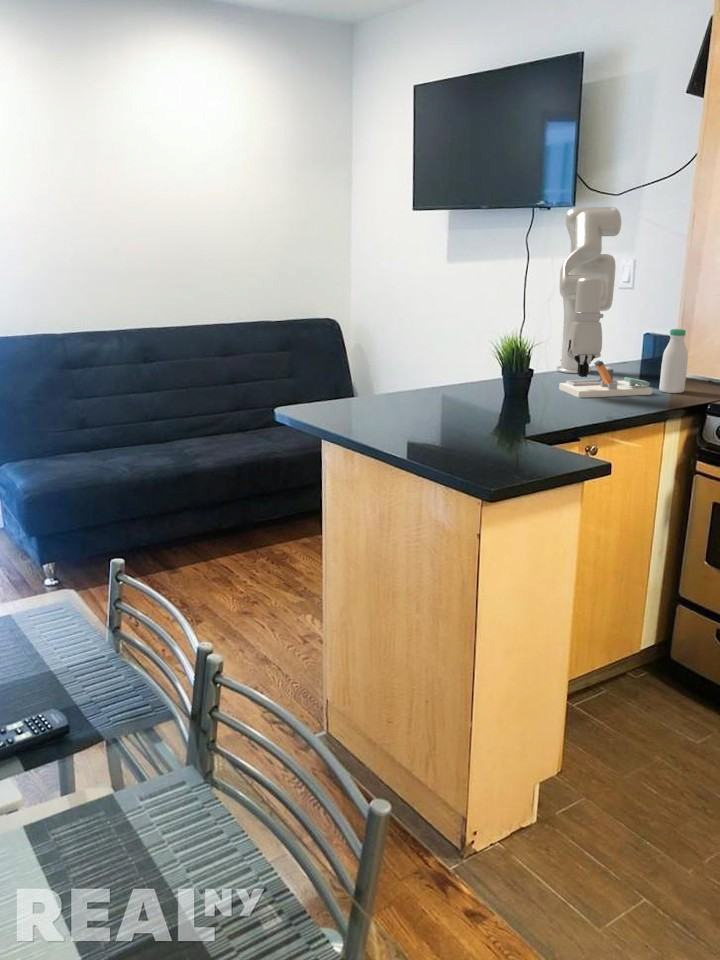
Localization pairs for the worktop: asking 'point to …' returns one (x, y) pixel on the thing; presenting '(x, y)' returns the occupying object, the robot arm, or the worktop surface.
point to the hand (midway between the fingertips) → (582, 376)
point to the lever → (603, 372)
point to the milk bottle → (674, 363)
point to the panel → (603, 388)
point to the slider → (609, 373)
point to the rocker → (636, 381)
